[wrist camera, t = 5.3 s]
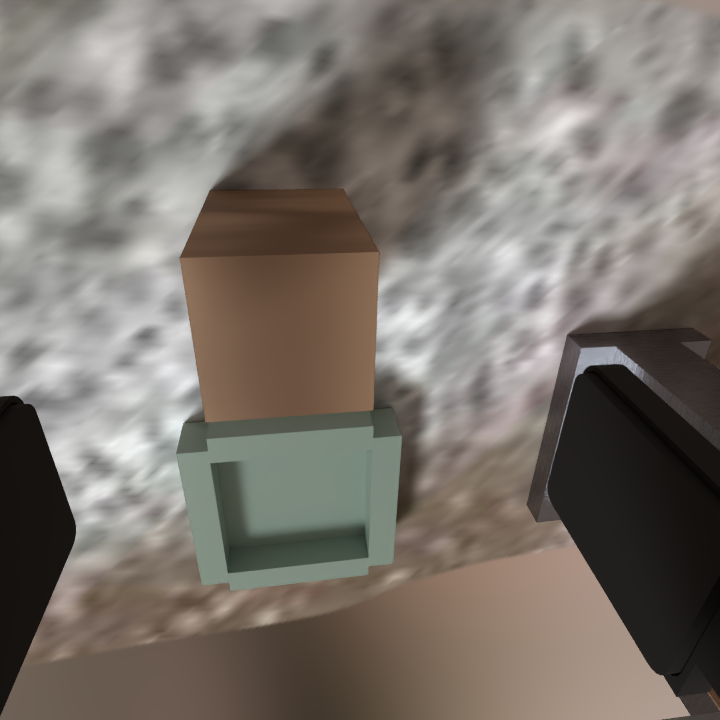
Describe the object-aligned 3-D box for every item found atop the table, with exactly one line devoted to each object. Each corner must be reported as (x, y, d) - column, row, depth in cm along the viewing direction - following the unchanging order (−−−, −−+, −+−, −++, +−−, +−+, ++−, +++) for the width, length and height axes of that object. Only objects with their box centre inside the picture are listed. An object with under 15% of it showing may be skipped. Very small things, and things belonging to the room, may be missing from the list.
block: (224, 312, 20) (205, 422, 14) (209, 190, 18) (179, 258, 12) (342, 307, 21) (373, 410, 14) (342, 188, 18) (379, 251, 12)
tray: (208, 558, 26) (203, 593, 24) (181, 411, 22) (173, 441, 20) (384, 539, 27) (392, 571, 26) (392, 396, 23) (402, 423, 21)
